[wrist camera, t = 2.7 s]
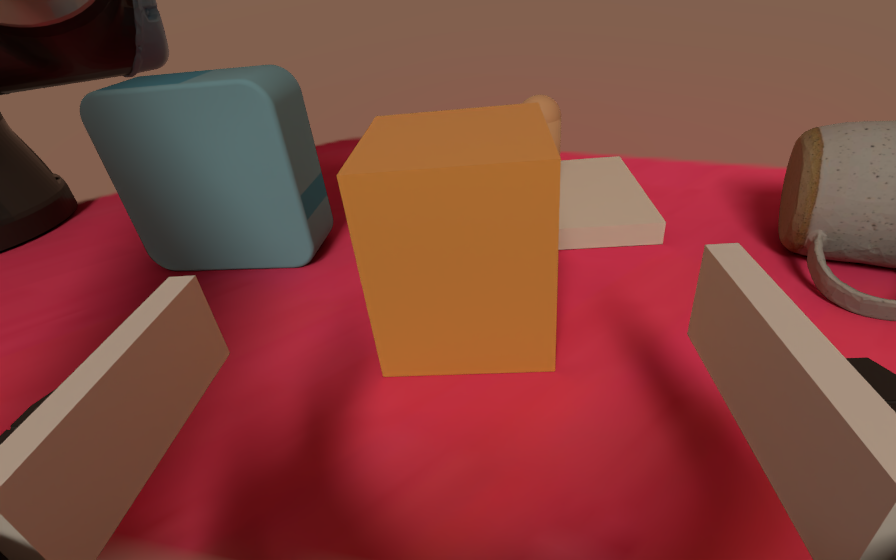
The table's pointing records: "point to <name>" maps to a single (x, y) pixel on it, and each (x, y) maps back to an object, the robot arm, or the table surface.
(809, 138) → the ceramic mug
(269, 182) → the data package
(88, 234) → the table surface
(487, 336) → the tall orange block
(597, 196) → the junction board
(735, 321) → the robot arm
